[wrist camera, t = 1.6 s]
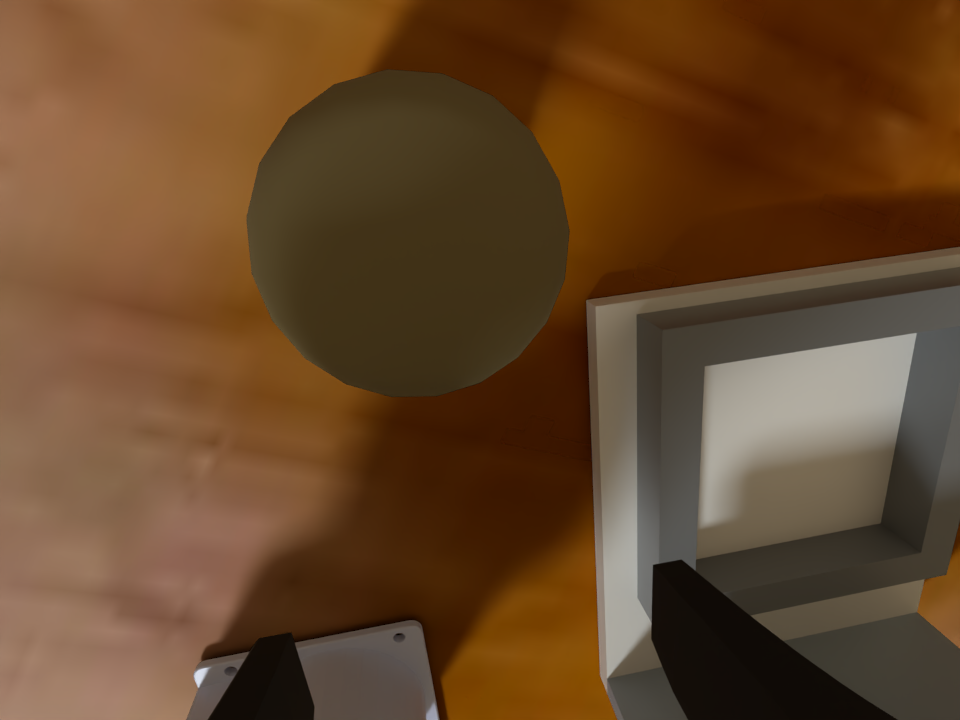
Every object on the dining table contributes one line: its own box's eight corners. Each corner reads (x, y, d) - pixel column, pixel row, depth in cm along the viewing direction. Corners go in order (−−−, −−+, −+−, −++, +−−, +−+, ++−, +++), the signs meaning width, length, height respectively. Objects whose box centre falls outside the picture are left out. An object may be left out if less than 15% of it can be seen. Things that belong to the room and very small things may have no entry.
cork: (361, 65, 16) (298, -113, 6) (529, 170, 18) (706, 174, 8) (280, 244, 17) (114, 351, 7) (443, 326, 19) (494, 506, 9)
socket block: (600, 675, 26) (711, 953, 17) (586, 300, 20) (756, 418, 10) (896, 612, 28) (1146, 835, 19) (975, 244, 21) (1429, 304, 12)
